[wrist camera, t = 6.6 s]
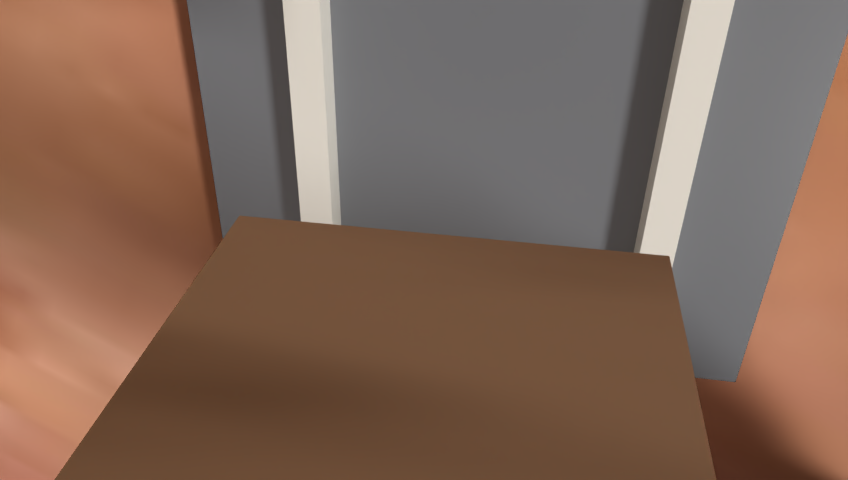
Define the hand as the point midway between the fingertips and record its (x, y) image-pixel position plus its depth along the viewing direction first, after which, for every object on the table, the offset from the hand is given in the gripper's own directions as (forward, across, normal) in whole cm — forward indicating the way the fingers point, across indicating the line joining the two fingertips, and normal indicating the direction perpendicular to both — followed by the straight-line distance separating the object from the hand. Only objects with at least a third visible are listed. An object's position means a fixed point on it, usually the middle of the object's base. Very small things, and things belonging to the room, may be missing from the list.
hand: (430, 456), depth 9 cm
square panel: (+10, 0, 0) cm, 11 cm away
